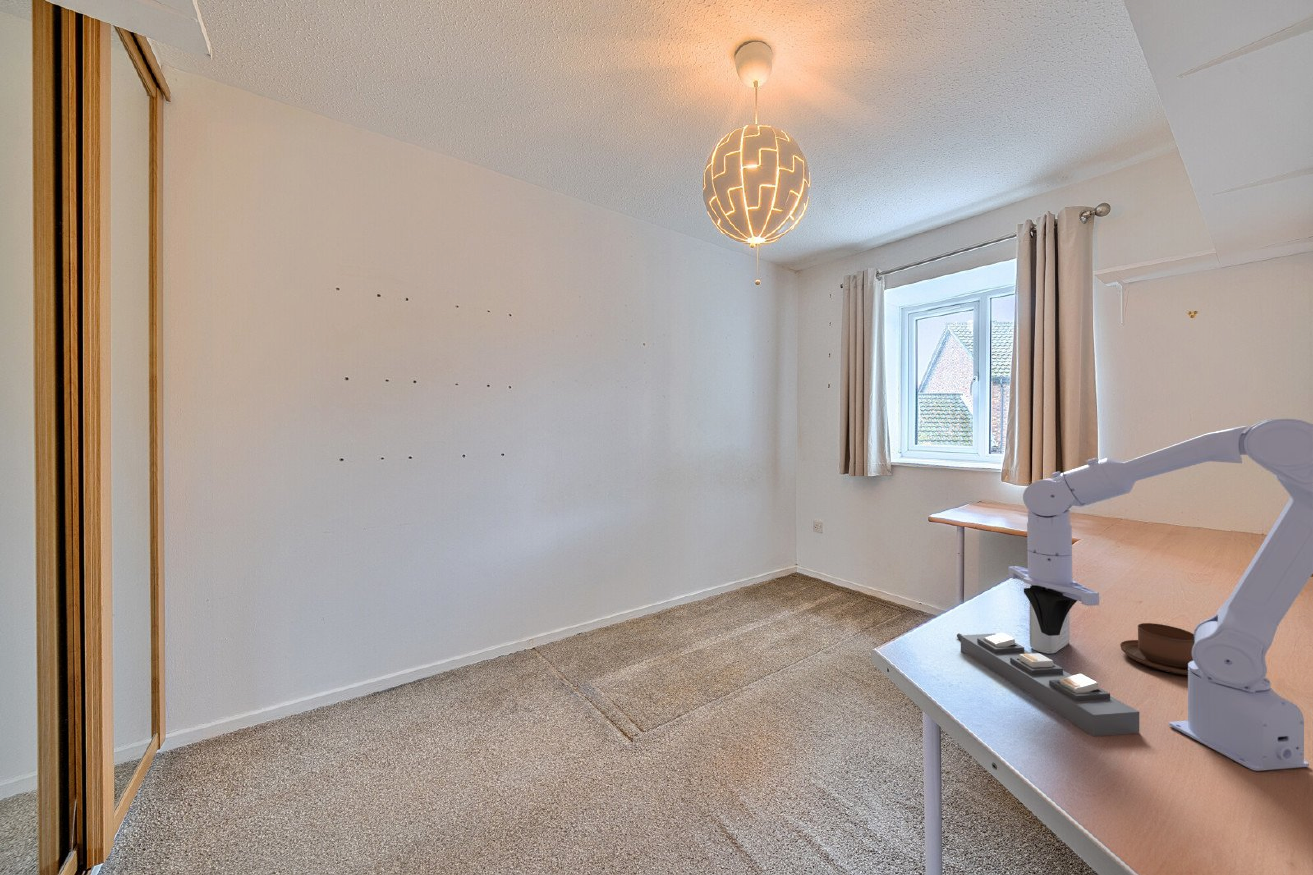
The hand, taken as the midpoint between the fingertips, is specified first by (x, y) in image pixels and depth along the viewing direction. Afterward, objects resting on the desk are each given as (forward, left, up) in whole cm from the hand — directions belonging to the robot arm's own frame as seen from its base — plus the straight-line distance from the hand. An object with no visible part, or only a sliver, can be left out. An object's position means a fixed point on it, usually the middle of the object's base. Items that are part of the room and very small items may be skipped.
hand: (1050, 633), depth 80 cm
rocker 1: (+8, +2, -5) cm, 10 cm away
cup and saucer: (+5, -27, -9) cm, 29 cm away
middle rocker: (+1, +2, -5) cm, 5 cm away
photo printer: (+14, -13, -9) cm, 21 cm away
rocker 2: (-7, +2, -5) cm, 9 cm away
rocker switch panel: (+3, +2, -9) cm, 10 cm away
